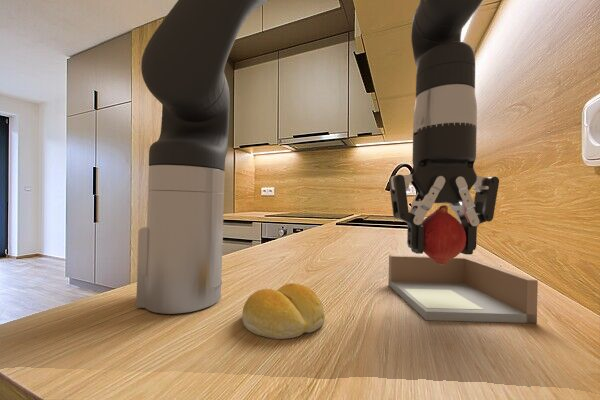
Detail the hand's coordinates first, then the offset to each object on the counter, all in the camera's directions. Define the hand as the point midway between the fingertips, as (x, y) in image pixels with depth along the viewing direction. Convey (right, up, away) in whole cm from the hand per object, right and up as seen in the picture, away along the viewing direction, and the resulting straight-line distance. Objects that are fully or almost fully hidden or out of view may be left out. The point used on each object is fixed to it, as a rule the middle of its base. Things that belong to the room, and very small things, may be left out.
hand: (440, 252), depth 35 cm
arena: (+2, -7, +2) cm, 8 cm away
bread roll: (-21, -7, -6) cm, 23 cm away
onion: (0, -2, 0) cm, 2 cm away
